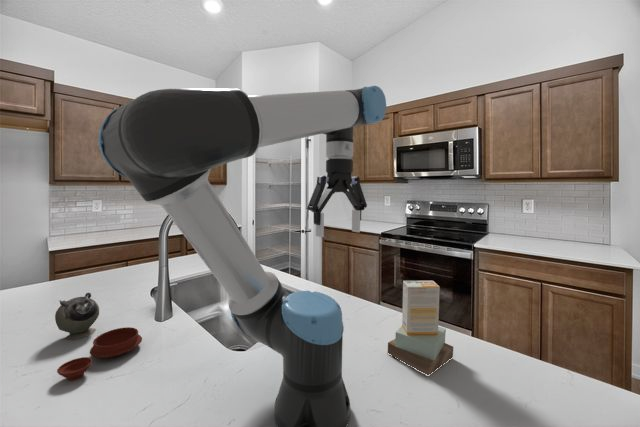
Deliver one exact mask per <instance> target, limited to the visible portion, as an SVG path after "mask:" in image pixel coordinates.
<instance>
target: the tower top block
mask: <svg viewBox="0 0 640 427" xmlns="http://www.w3.org/2000/svg"><path fill="white" fill-rule="evenodd" d="M394 339H395V347H398V348H400V349H403V350H406V351H409V352H412V353H414V354H417V355H420V356H423V357H426V358H429V359H431V360H434V361H435V359H436V357H437V355H438V354H439V352H440V350H441V349H442V347H443V345H444V344H445V343H446V328H444V327H440V326H438V335H407V333H406V332H405V330H404V328H403V327H402V325H401V326H400V327H399V328H398V329H397V331H396V332H395V338H394Z"/></svg>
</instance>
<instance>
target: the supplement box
mask: <svg viewBox="0 0 640 427" xmlns="http://www.w3.org/2000/svg"><path fill="white" fill-rule="evenodd" d="M402 281H403V283H402V318H401V320H402V323H401V326H402V327H403V328H404V330H405V332H406V333H407V335H438V327H439V316H440V315H439V314H440V312H439V311H440V290H441V287H440V285H438V283H436V282H435V281H434V280H402Z"/></svg>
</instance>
